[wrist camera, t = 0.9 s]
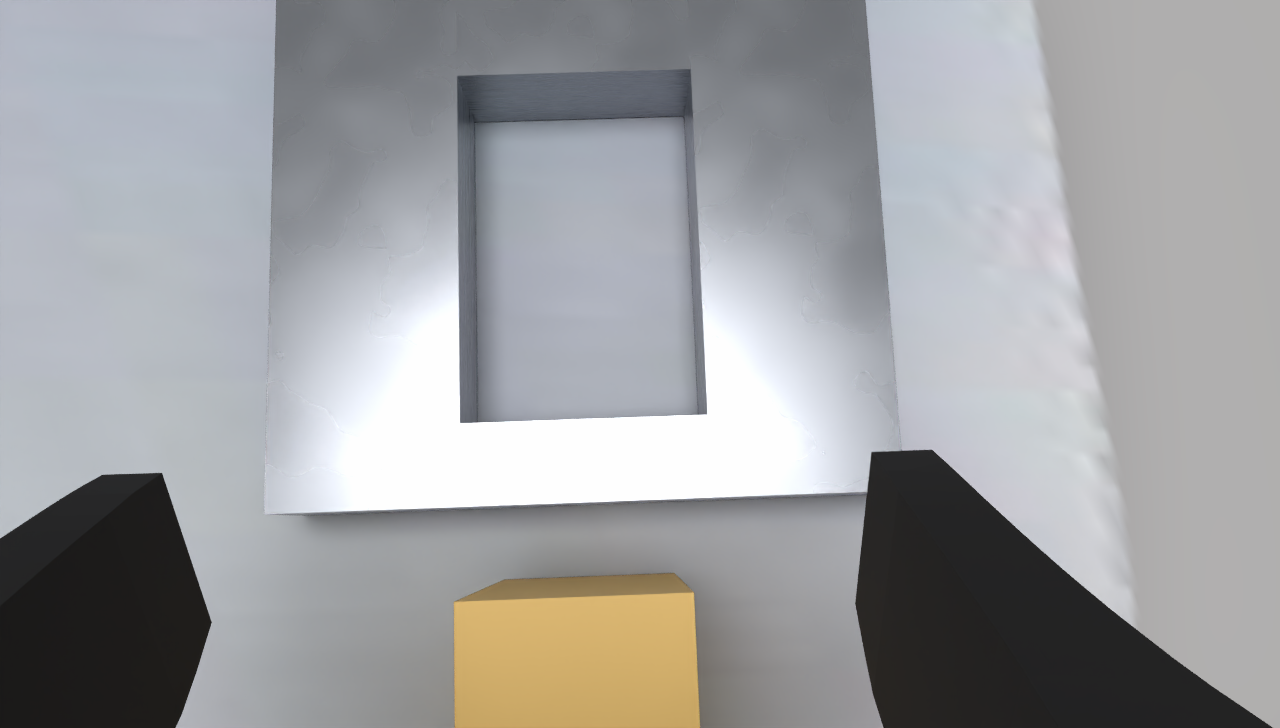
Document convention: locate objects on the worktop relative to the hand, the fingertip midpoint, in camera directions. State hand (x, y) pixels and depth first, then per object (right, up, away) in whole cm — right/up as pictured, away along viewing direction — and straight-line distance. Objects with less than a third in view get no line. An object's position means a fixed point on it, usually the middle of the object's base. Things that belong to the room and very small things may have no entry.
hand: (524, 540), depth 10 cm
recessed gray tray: (0, +5, +13) cm, 14 cm away
